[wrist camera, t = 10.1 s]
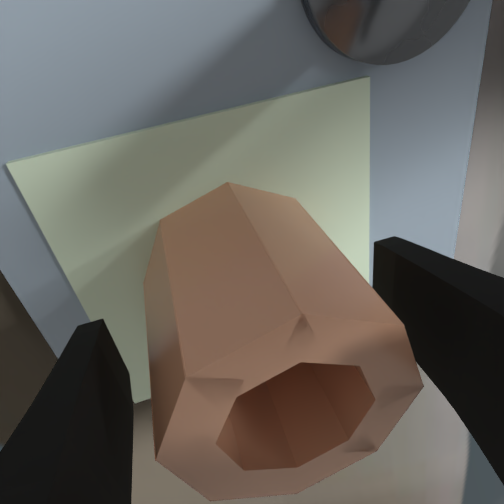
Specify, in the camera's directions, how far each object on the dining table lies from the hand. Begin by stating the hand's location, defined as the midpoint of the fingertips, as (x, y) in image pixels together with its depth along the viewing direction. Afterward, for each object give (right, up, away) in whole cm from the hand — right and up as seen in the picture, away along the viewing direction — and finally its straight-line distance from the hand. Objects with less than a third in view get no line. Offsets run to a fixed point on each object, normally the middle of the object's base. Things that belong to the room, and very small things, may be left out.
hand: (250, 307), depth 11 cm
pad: (-1, +2, +2) cm, 3 cm away
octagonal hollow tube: (0, +1, +2) cm, 2 cm away
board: (-2, +12, -4) cm, 12 cm away
